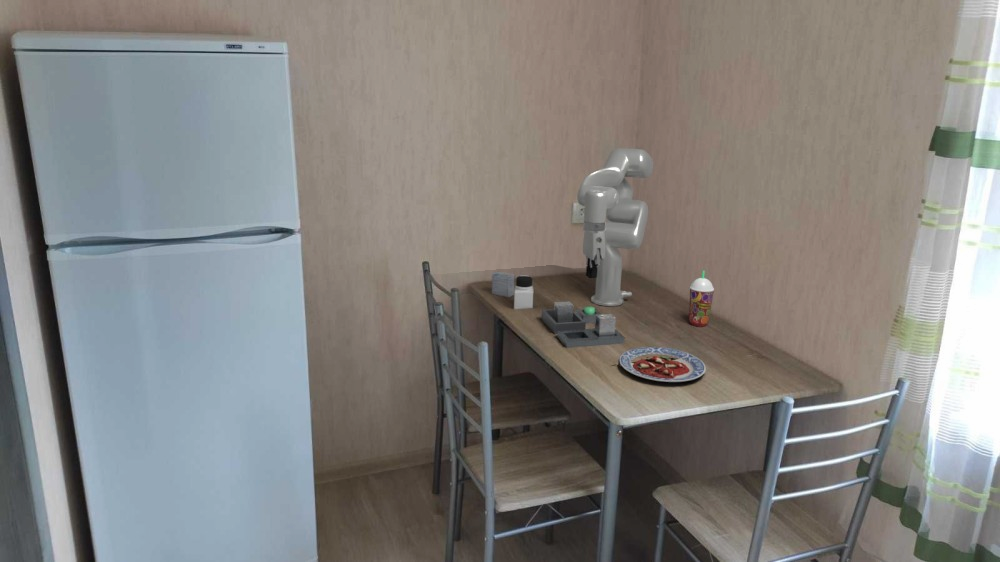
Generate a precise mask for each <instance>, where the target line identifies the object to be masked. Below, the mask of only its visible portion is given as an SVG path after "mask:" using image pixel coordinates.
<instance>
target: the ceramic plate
mask: <svg viewBox="0 0 1000 562" xmlns="http://www.w3.org/2000/svg"><path fill="white" fill-rule="evenodd" d="M644 355H662V356H661V357H660V356H659V357H658V356H647V357H645V358H640V359H638V360H636V361H633V360H634V359H635V358H637V357H640V356H644ZM663 355H664V356H663ZM667 356H669V357H667ZM673 357H675V358H673ZM662 358H663V359H662ZM619 364H620V365H621V367H622V368H623V369H624V370H625V371H626V372H629V373H630V374H632V375H635V376H637V377H640V378H642V379H646V380H651V381H656V382H664V383H665V382H666V383H667V382H668V383H682V382H688V381H693V380H696V379H698V378H700V377H702V376H703V375H704V374H705V373H706V371H707V370H706V369H707V367H706V365H705V363H704V362H703V360H701V359H700V358H698V357H697V356H696V355H695V356H694V355H693V354H691V353H688V352H685V351H683V350H679V349H673V348H668V347H657V346H648V347H637V348H633V349H629V350H627V351H625V352H623V353H622V354H621V355H620V357H619Z"/></svg>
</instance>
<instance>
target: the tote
mask: <svg viewBox="0 0 1000 562" xmlns="http://www.w3.org/2000/svg"><path fill="white" fill-rule="evenodd" d="M541 320H542V321H543V322H544V323H545V325H546V326H547V327H548V329H550V330H551V332H552V333H553V334H554V335H557V331H565V330H579V329H586V326H587V324H586V322H585V321H584V320H583V319H582V318H581V317H580V316H579V315H578V314H577V311H575V310H574V309H573V322H566V323H556V321H555V320H554V308H549V309H542V310H541Z"/></svg>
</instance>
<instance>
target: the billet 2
mask: <svg viewBox="0 0 1000 562" xmlns="http://www.w3.org/2000/svg"><path fill="white" fill-rule="evenodd" d="M616 323H617V317H616V316H615V315H614V314H612V313H606V314H605V313H604V314H602V313H601V315H596V321H595V323H594V328H595V335H596V336H597V337H604V336H615V329H616Z"/></svg>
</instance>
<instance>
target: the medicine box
mask: <svg viewBox="0 0 1000 562" xmlns="http://www.w3.org/2000/svg"><path fill="white" fill-rule="evenodd" d="M491 275H492V276H491V277H492V278H491V294H492V295H496V296H499V297H505V298H511V297H512V296H514V288H515V274H514V273H508V272H503V271H496V272H494V273H492V274H491Z"/></svg>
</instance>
